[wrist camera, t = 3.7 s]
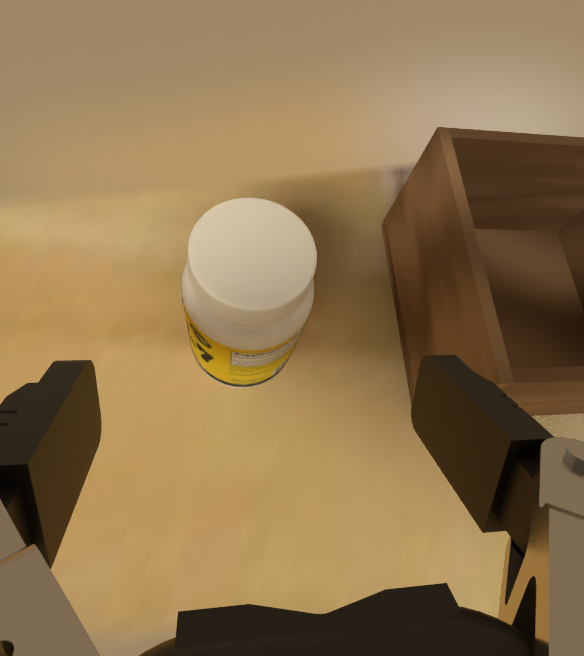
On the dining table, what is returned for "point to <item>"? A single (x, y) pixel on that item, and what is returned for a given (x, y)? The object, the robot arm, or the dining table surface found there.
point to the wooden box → (494, 262)
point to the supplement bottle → (247, 289)
